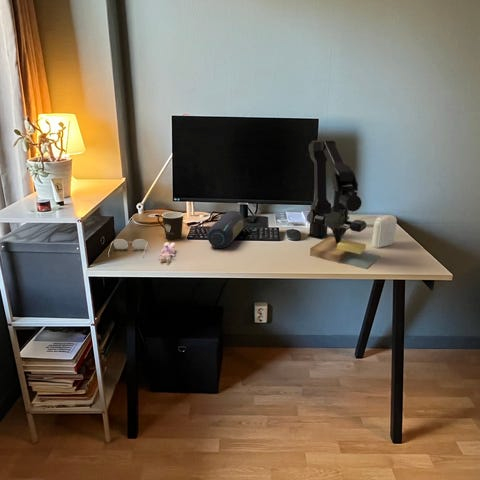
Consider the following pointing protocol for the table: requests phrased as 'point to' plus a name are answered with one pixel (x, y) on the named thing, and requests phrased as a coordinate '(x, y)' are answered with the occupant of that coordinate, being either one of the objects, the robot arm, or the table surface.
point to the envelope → (364, 219)
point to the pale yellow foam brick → (351, 246)
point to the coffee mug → (172, 225)
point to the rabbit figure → (167, 252)
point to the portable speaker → (226, 229)
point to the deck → (329, 250)
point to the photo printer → (384, 231)
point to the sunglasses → (137, 243)
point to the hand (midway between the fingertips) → (337, 243)
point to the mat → (361, 259)
